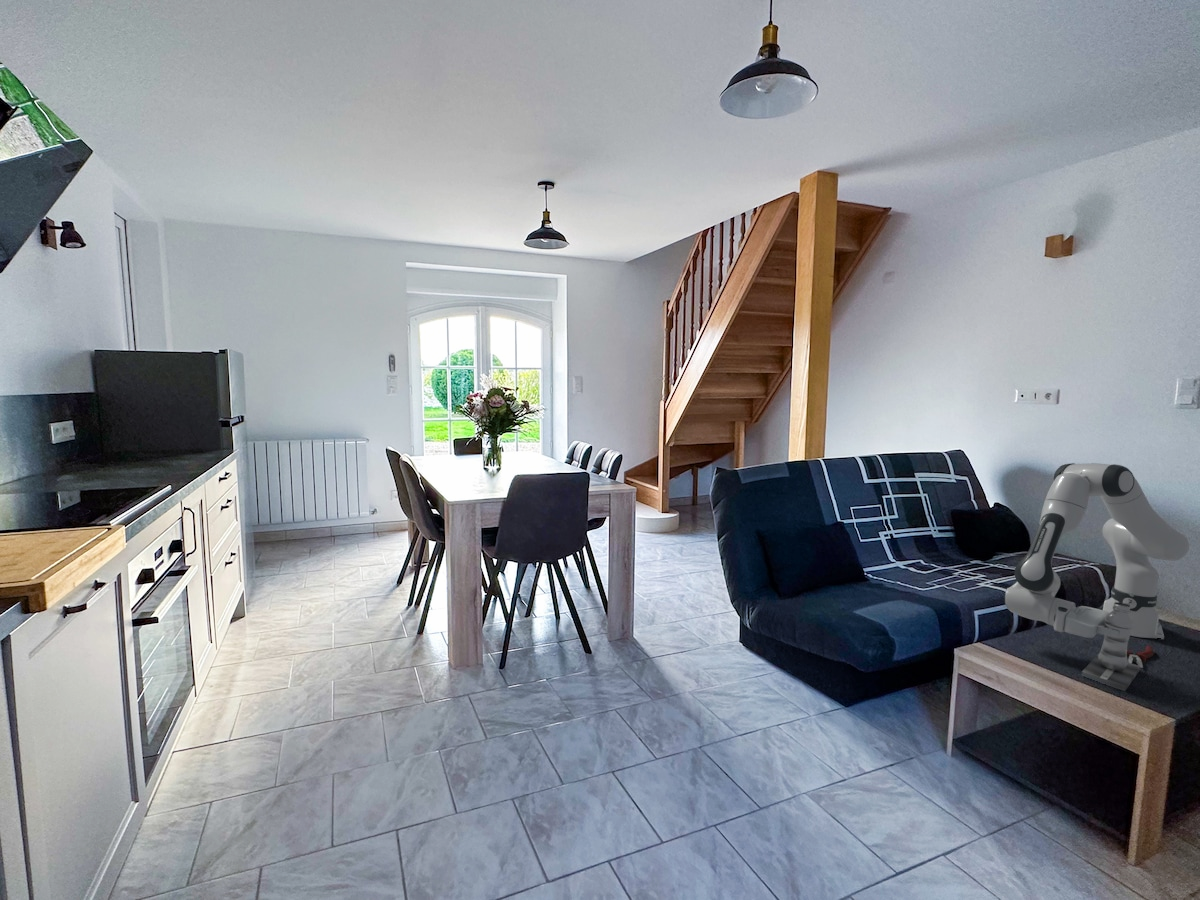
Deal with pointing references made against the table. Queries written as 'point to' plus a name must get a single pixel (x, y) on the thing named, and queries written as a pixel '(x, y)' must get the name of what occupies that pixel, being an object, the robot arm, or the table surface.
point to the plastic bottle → (1116, 638)
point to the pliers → (1140, 656)
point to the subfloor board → (1111, 674)
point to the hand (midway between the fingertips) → (1121, 630)
